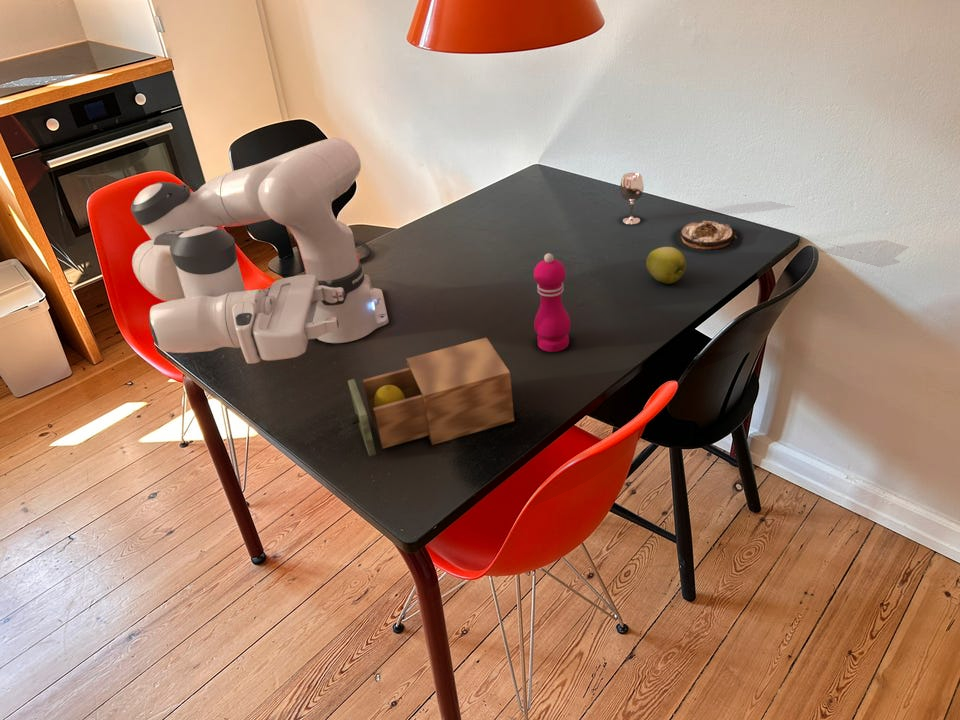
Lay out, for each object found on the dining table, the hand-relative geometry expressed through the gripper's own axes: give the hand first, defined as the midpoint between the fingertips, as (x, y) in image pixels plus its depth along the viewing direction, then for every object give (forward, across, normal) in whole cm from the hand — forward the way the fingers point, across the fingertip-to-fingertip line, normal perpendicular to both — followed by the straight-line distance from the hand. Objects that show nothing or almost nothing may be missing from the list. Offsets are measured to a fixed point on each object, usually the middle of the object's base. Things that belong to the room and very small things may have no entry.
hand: (340, 308), depth 121 cm
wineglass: (+63, -76, -26) cm, 102 cm away
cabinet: (+17, -3, -26) cm, 31 cm away
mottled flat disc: (+78, -61, -27) cm, 102 cm away
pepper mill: (+36, -23, -26) cm, 50 cm away
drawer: (+5, 0, -25) cm, 26 cm away
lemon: (+5, 0, -24) cm, 25 cm away
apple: (+63, -42, -26) cm, 81 cm away
